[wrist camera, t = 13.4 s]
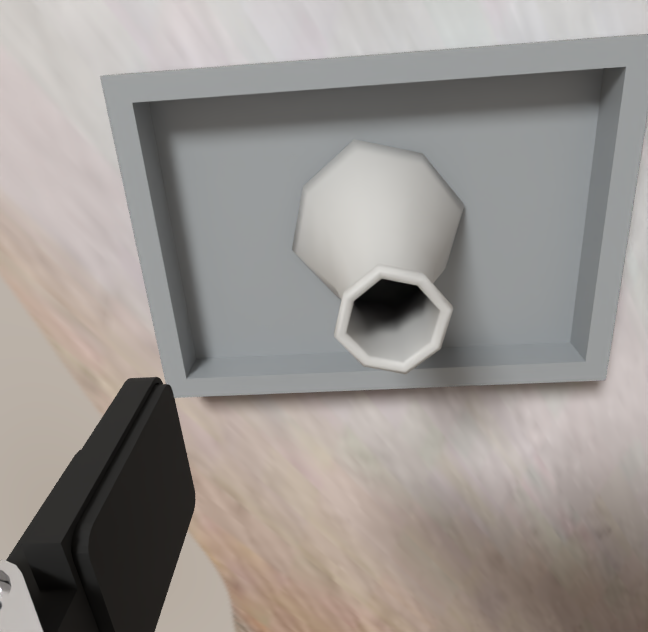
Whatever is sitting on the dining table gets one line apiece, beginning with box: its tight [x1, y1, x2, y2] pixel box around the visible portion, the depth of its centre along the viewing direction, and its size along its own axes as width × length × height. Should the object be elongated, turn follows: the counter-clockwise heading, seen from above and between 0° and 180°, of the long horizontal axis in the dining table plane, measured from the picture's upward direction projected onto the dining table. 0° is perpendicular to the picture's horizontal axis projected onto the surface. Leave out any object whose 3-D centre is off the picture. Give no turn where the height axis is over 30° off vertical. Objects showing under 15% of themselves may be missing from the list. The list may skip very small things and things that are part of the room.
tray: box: [100, 34, 648, 398], centre depth 24 cm, size 14×20×2 cm
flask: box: [292, 139, 464, 374], centre depth 20 cm, size 7×7×10 cm
